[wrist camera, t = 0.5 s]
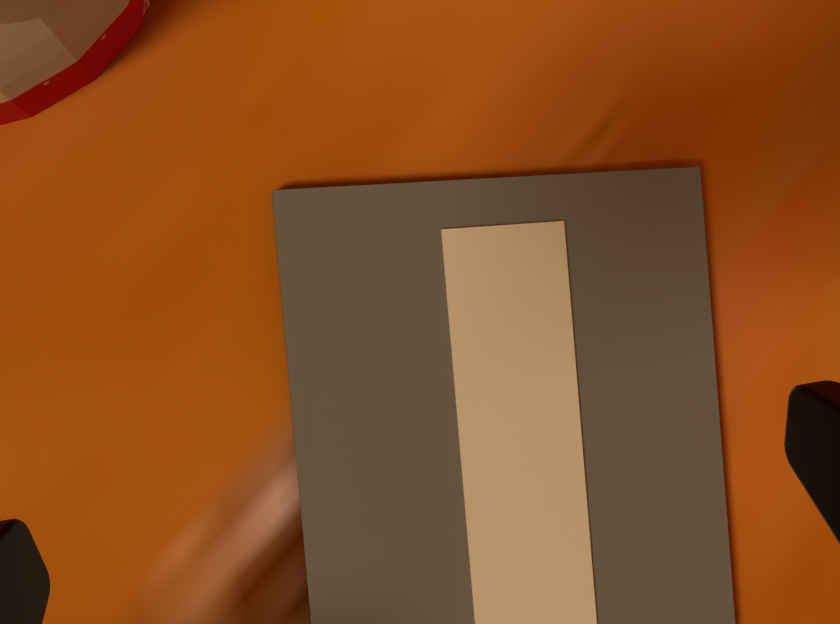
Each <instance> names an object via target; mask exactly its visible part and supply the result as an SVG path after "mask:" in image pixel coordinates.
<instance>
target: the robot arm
mask: <svg viewBox="0 0 840 624" xmlns="http://www.w3.org/2000/svg"><path fill="white" fill-rule="evenodd" d="M784 446H785V453H786V457H787V459H788V462H789V464H790V466H791V467H792V469H793V471H794V472H795V474H796V475H797V477H798V479H799V480H800V482H801V483H802V485H803V487H804V488H805V490H806V491H807V493H808V494H809V496H810V498H811V499H812V501H813V502H814V504H815V506H816V507H817V509H818V510H819V512H820V514H821V515H822V517H823V518H824V520H825V521H826V523H827V525H828V526H829V528H830V529H831V531H832V533H833V534H834V536H835V537H836V539H837V541H838V542H839V544H840V383H838V382H834V381H819V382H813V383H807V384H802V385H797V386H796V387H795V388H793V389H792V390H791V393H790V395H789V399H788V410H787V420H786V431H785V441H784ZM49 592H50V579H49V574H48V571H47V569H46V566H45V564H44V562H43V560H42V558H41V555H40V553H39V551H38V549H37V546H36V544H35V542H34V540H33V538H32V535H31V533H30V531H29V529H28V527H27V526H26V524H25V523H24V522H23V521H21V520H18V519H9V520H3V521H0V624H42V621H43V617H44V614H45V610H46V606H47V602H48V598H49Z"/></svg>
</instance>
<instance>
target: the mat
mask: <svg viewBox="0 0 840 624" xmlns="http://www.w3.org/2000/svg"><path fill="white" fill-rule="evenodd" d="M272 199H273V210H274V221H275V232H276V243H277V254H278V265H279V276H280V287H281V298H282V309H283V320H284V330H285V341H286V352H287V363H288V374H289V385H290V396H291V407H292V418H293V429H294V440H295V451H296V462H297V472H298V483H299V494H300V505H301V516H302V527H303V538H304V549H305V560H306V571H307V582H308V593H309V604H310V614H311V624H735V611H734V598H733V585H732V573H731V560H730V547H729V534H728V521H727V508H726V495H725V482H724V469H723V456H722V443H721V430H720V417H719V404H718V391H717V378H716V365H715V352H714V339H713V326H712V313H711V300H710V287H709V274H708V261H707V248H706V235H705V222H704V209H703V196H702V183H701V170H700V167H682V168H664V169H646V170H628V171H610V172H592V173H574V174H556V175H537V176H519V177H501V178H483V179H465V180H447V181H429V182H410V183H392V184H374V185H356V186H338V187H320V188H302V189H284V190H272Z"/></svg>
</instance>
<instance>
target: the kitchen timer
mask: <svg viewBox="0 0 840 624" xmlns="http://www.w3.org/2000/svg"><path fill="white" fill-rule="evenodd" d="M152 1H153V0H0V125H3V124H7V123H11V122H15V121H18V120H22V119H26V118H30V117H33V116H35V115H36V114H38V113H40V112H41V111H43V110H45V109H47V108H48V107H50V106H52V105H53V104H55V103H57V102H58V101H60V100H62V99H63V98H65V97H67V96H68V95H70V94H72V93H74V92H75V91H77V90H79V89H80V88H82V87H84V86H85V85H87V84H89V83H90V82H92V81H94V80H95V79H96V77H97V76H98V75H99V74H100V73H101V72H102V71H103V70H104V69H105V67H106V66H107V65H108V64H109V63H110V62H111V61H112V60H113V59H114V58H115V56H116V55H117V54H118V53H119V52H120V51H121V50H122V49H123V48H124V46H125V45H126V44H127V43H128V42H129V41H130V40H131V39H132V38H133V37H134V35H135V34H136V33H137V32H138V31H139V29H140V27H141V25H142V23H143V21H144V18H145V16H146V14H147V12H148V9H149V7H150V5H151V3H152Z"/></svg>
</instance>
